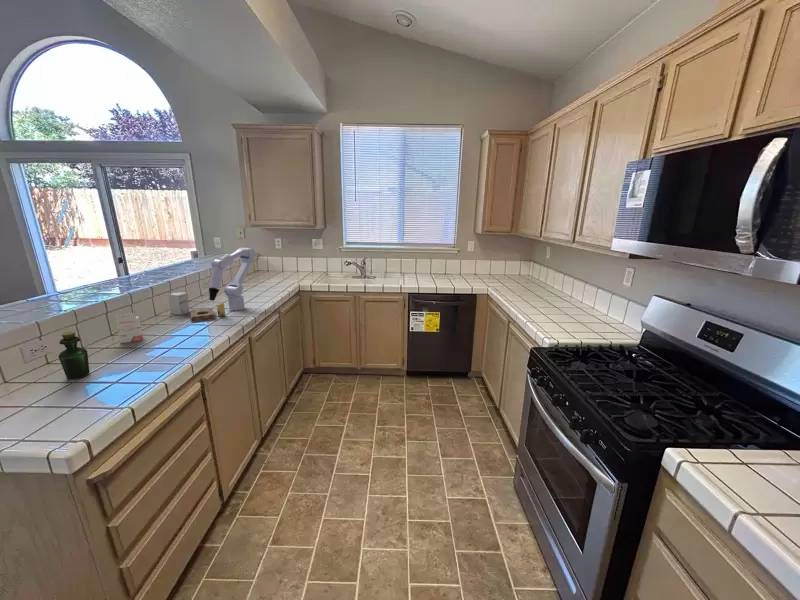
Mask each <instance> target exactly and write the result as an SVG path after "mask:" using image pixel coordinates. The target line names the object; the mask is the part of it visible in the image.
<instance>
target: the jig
mask: <svg viewBox="0 0 800 600" xmlns="http://www.w3.org/2000/svg"><path fill="white" fill-rule="evenodd" d="M190 318H191V322H192V321H195V322H200V321H199V320H203V321H209V320H208V319H211V320H215V319H216V316H215V311H214V309H213V307H207V308H204V307H203V308H195V309H191V310H190Z"/></svg>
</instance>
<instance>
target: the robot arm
mask: <svg viewBox="0 0 800 600" xmlns="http://www.w3.org/2000/svg"><path fill="white" fill-rule="evenodd" d="M256 255H257V254H256V251H255V249H254V248H253V247H251V248H250V247H249V248H248V247H242V246H241V247H238V248H237V250H236V251H234V252H232V253H231V254H229V253H228V254H227V253H226V254H224V256H222V257H219V258H218V259H217V258H216V259H214V260H212V262H211V277H210V282H209V283H208V284H207V285H206V286H208V287H209V288H208V293H209V301H215V300H216V298H217V295H218V293H219V291H220V288H221V284H222V279H223V273H224V270H225V269H226V268H227V266H228V265H230V264H232V263H234V261H235V259H237V258H239V259H240V261H241V262H242V263H241V266H240V268H239V269H238V272H237V273H236V275H235V277H234V279H233V281H231V282H229V283H228V284H227V285H226V286H225V287H224V291H223V292H224V295H226V297H227V301H228V307H227V309H228V311H229V312H232V311H234V310H235V311H243V309H244V310H245V299H244V296H243V295H242V294H243V290H244V286H243V285H242V284H243V282H244V280H245V278H246V276H247V274H248V272H249V271H250V269H251V267H252V264H253V261H254V259H255V257H256ZM235 311H234V312H235Z"/></svg>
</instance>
